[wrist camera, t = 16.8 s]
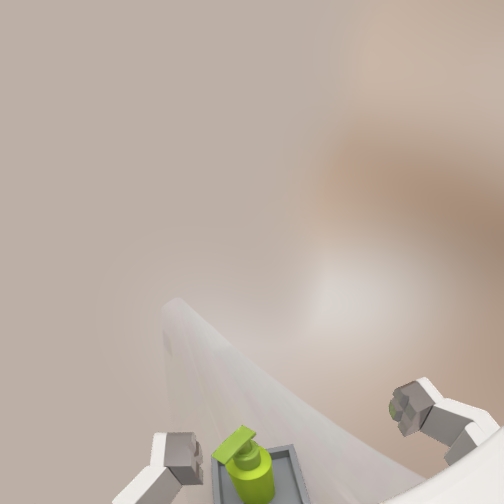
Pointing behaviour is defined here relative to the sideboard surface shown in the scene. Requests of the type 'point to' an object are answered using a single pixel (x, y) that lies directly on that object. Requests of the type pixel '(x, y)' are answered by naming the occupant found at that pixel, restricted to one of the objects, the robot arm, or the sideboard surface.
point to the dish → (284, 473)
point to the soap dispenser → (247, 466)
